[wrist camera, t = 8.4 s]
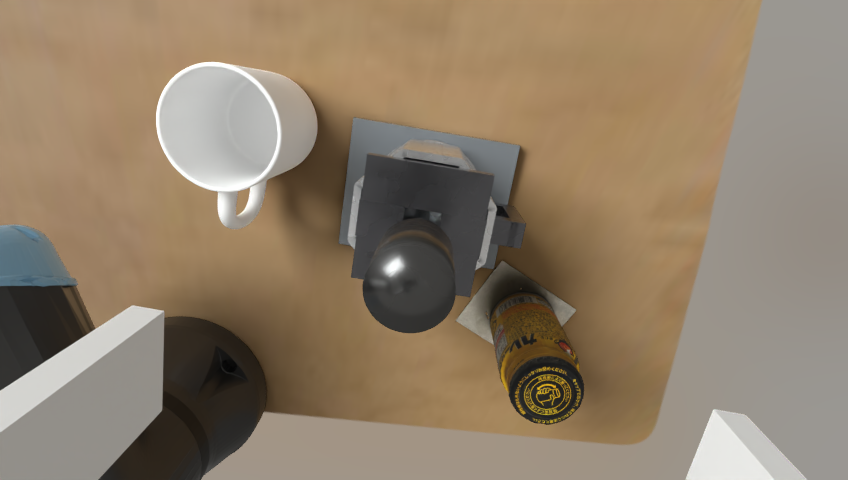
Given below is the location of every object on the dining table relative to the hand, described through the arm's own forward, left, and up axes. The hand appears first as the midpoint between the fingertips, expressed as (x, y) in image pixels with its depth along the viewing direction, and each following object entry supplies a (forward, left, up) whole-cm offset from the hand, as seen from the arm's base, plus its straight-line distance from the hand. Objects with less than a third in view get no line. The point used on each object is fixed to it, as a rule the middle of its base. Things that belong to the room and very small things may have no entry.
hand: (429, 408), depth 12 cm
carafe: (0, -1, -31) cm, 31 cm away
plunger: (-1, -1, -28) cm, 28 cm away
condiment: (+9, -11, -32) cm, 35 cm away
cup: (-15, +1, -32) cm, 35 cm away
